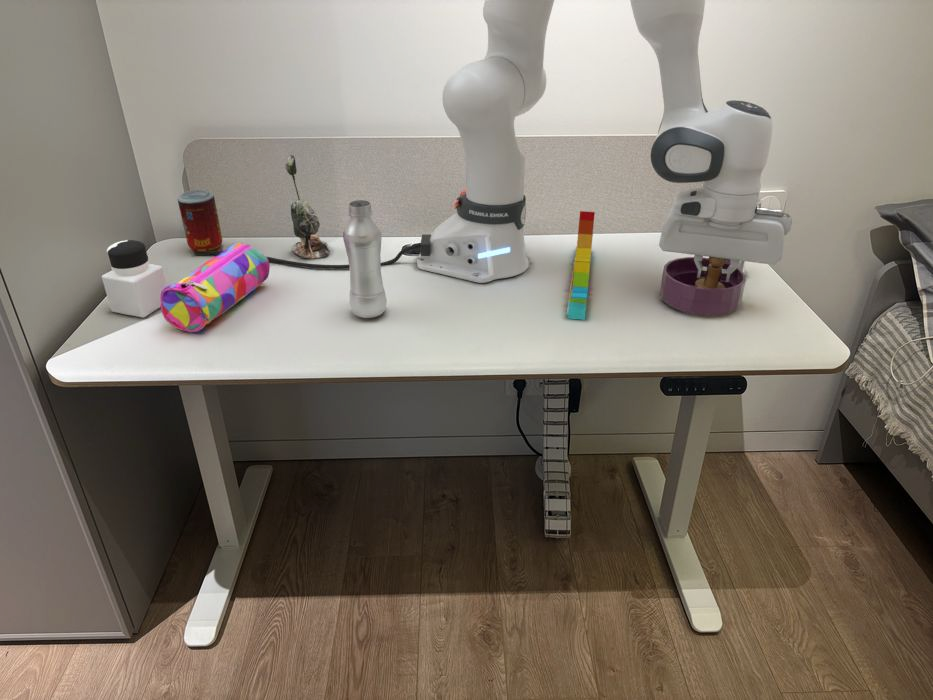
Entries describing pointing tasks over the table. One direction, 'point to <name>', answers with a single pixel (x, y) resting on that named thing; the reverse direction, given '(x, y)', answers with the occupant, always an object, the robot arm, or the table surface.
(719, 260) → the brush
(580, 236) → the chart
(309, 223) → the plant with pod
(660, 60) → the robot arm
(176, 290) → the pencil case
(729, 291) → the bowl
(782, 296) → the table surface
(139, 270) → the medicine bottle
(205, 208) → the soda can
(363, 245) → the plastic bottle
